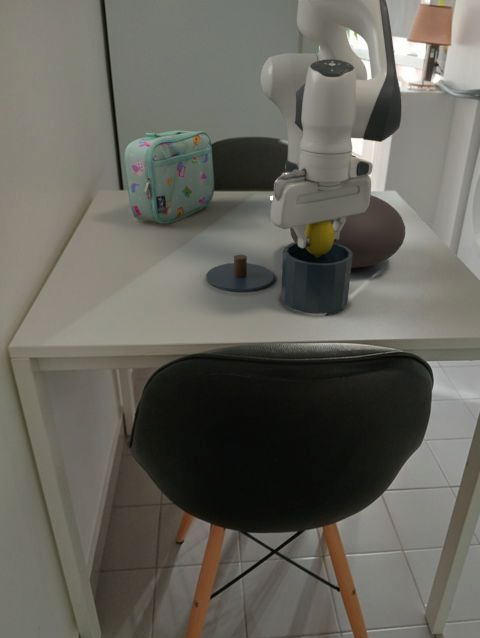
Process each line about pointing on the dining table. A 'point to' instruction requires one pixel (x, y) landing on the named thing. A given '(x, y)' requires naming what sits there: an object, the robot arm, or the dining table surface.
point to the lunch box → (169, 175)
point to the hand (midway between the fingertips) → (318, 243)
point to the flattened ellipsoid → (371, 233)
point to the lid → (240, 276)
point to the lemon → (320, 237)
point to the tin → (316, 279)
